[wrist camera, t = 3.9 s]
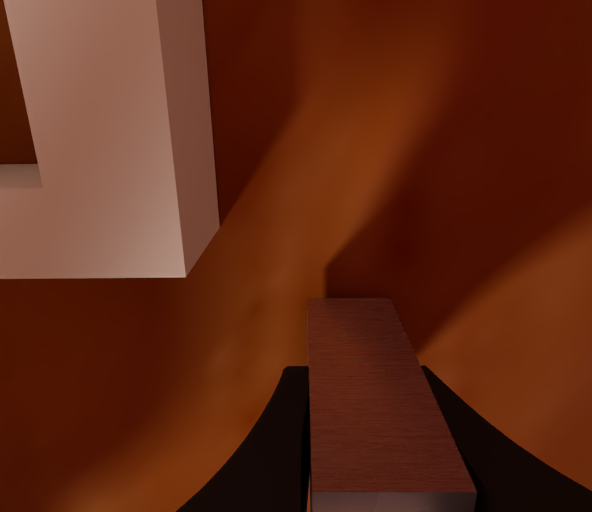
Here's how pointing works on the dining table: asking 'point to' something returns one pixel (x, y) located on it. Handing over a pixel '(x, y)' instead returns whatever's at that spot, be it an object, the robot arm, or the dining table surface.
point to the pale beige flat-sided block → (110, 141)
